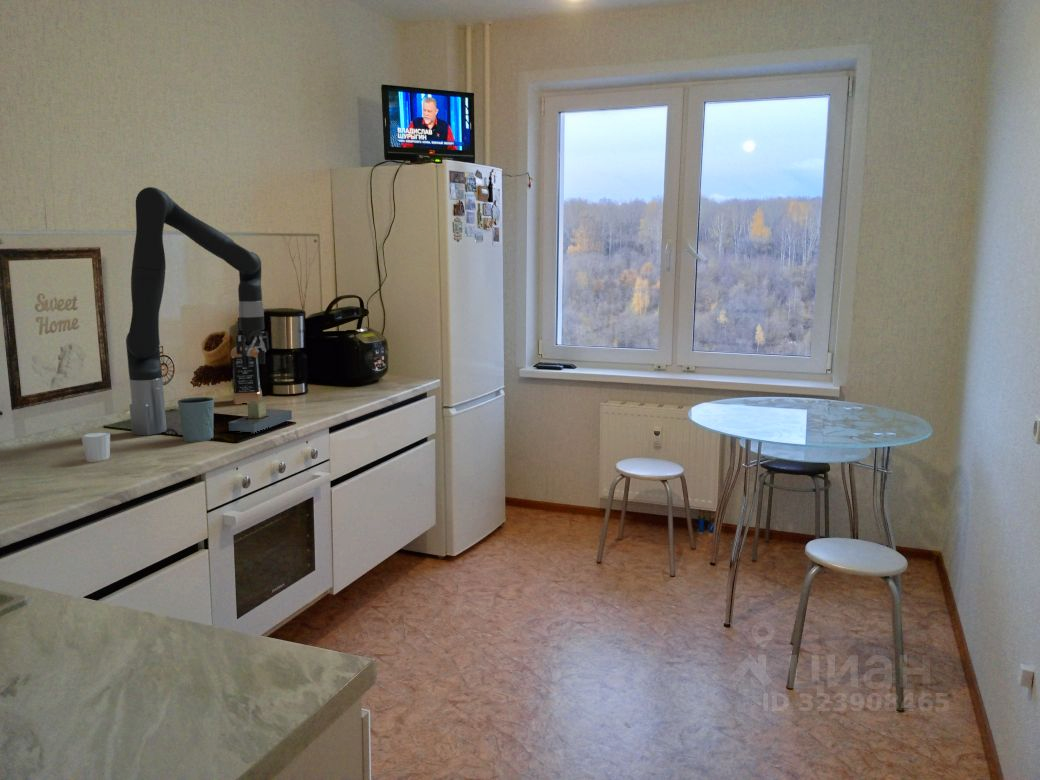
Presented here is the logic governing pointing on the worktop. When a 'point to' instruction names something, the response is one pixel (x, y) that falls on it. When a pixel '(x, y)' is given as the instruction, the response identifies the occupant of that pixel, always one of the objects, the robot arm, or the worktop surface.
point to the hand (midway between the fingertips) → (254, 365)
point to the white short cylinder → (96, 446)
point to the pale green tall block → (256, 410)
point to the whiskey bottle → (246, 377)
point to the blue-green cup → (197, 418)
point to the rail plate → (260, 421)
